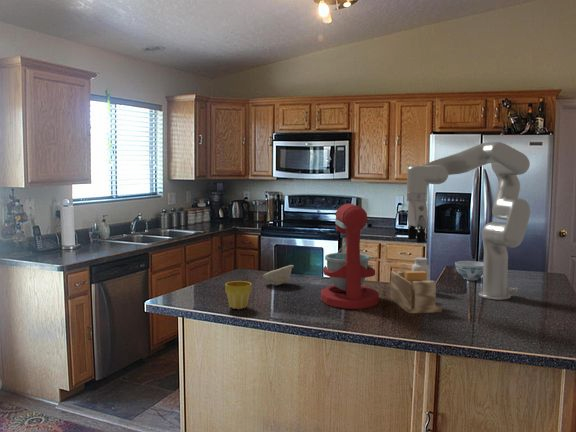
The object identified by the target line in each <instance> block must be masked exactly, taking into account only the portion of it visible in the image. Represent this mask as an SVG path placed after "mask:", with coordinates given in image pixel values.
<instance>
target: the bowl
mask: <svg viewBox="0 0 576 432" xmlns="http://www.w3.org/2000/svg"><path fill="white" fill-rule="evenodd" d="M293 268H294V265H293V264H289V265H286V266H283V267H279V268H278V269H273V270H270V271H268V272H266V273H264V274H263V276H262V278H263V279H265V280H267V281H269V282H271V284H272V285H273V284H277V285H276V286H279V285H282V284H286V283H288V282H289V280H290V276H291V274H292V269H293Z"/></svg>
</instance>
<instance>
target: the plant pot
mask: <svg viewBox="0 0 576 432" xmlns="http://www.w3.org/2000/svg"><path fill="white" fill-rule="evenodd" d="M252 285H253V284H252V283H251V282H250V281H243V280H234V281H228V282H225V284H224V289H225V290H224V291H225V293H226V296H227V301H228V305H229V308H230V307H232V308H244V307H246V306H247V307H248V304H249V298H250V295H251V293H252V289H253V288H252Z"/></svg>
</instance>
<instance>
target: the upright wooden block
mask: <svg viewBox="0 0 576 432" xmlns="http://www.w3.org/2000/svg"><path fill="white" fill-rule="evenodd" d="M403 271H404V279H406V280H408V281H409V282H411V283H412V280H419V281H427V272H425V271H412V270H403ZM411 298H412V291H411Z"/></svg>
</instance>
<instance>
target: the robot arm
mask: <svg viewBox="0 0 576 432" xmlns="http://www.w3.org/2000/svg"><path fill="white" fill-rule="evenodd" d="M488 164H490V165H491V169H492V171H493V173H494V174H495V176H496V178H497V181H498V182H497V183H498V185H497V191H496V194H495V198H494V201H493V204H492V208H491V211H492V212H491V213H492V216H493V217H494V218H496V219H498V220H502V221H506V223H505V222H501V221H491V222H488V223H486V224H485V225H484V226H483V227H482V230H481V239H482V243H483V245H482V246H483V261H482V262H483V275H482V290H480V291H479V292H478V296H479V297H481V298H483V299H488V300H497V301H499V300H501V301H502V300H509V299H511V293H519V288H518V287H512V286H509V285H508V267H509V264H508V263H509V253H508V249H507V248H512V249H513V248H516V247H519V246H520V245H521V243H522V242H523V240H524V237H525V234H526V231H527V228H528V225H529V224H528V223H529V220H530V216H531V206H530V203H529V202H528V201H527V200H525V199H523V198H520V197H519V195H520V191H521V182H520V180H519V178H518V175H519V176H521V175H524V174H525V173H527V172H528V171H529V169H530V166H531V165H530V164H531V163H530V159H529V157H528V156H527V155H526V154H525V153H523V152H521V151H519V150H517V149H516V148H515V147H512V146H511V145H508V144H507V143H505V142H501V141H494V142H493V141H491V142H482V143H479V144H477V145H475V146H472V147H470V148H467V149H465V150H462V151H460V152H456V153H453V154H450V155H447V156H444V157H440V158H437V159H434V160H432V161H430V162H428V163H425V164H422V165H411V166H410V165H409V167H407V172H406V173H407V174H406V176H407V177H406V178H407V179H406V182H407V183H406V201H407V202H408V206H407V225H408V226H407V228H408V229H407V231H408V232H407V235H408V236H407V238H408V240H416V243H420V244H421V243H426V231H427V230H426V229H427V226H428V208H427V201H428V200H427V199H428V196H427V195H428V184H429V185H430V184H431V185H441V184H443V183H445V182H446V181H447V180H448V178H449V176H451V175H460V174H466V173H468V172H471V171H473V170H475V169H477V168H480V167H483V166H485V165H488Z"/></svg>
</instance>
